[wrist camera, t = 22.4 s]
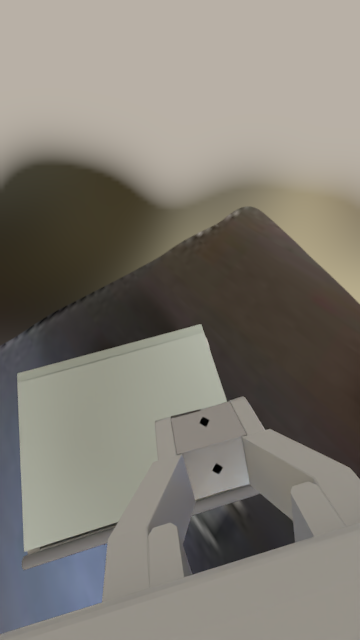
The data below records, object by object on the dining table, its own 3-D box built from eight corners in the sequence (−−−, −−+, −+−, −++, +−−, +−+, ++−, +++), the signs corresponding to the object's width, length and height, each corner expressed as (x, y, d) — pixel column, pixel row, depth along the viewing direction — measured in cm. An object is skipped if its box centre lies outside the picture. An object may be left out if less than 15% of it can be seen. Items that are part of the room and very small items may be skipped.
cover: (247, 476, 27) (252, 479, 24) (38, 542, 25) (24, 551, 23) (200, 332, 33) (201, 324, 30) (29, 378, 31) (17, 373, 29)
